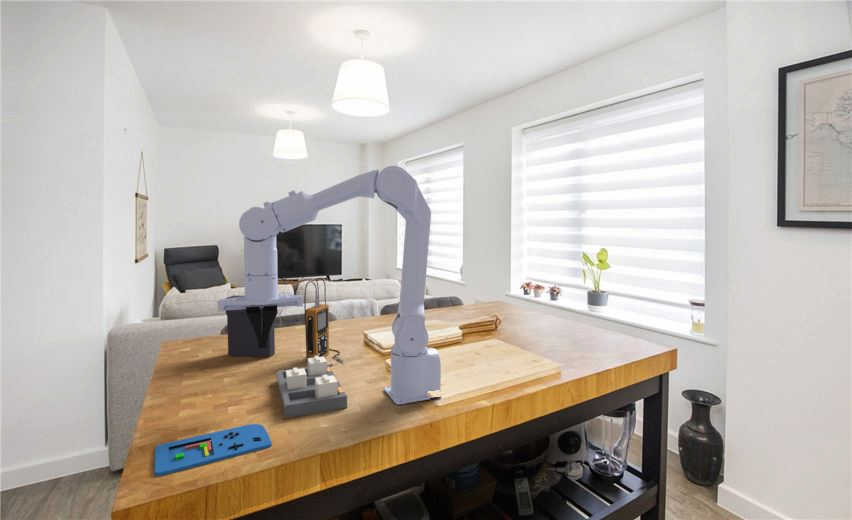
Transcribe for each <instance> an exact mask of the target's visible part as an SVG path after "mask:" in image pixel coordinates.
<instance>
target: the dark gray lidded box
mask: <svg viewBox="0 0 852 520" xmlns="http://www.w3.org/2000/svg"><path fill="white" fill-rule="evenodd" d="M237 297H245V295H231V296H227V297H225V298H224V299H228V298H237ZM268 305H269V304H268ZM251 306H252V305H251ZM260 309H261V334H262V332H263V316H262V308H260ZM225 314H226V324H227V351H228V352H227V354H228V356H229V357H246V358H247V357H248V358H266V357H269V358H270V357H272V356H274V355H275V354H276V351H275V350H276V346H275V345H276V344H275V340H276V339H275V337H276V336H275V335H276V334H275V321H274V322H273V324H272V326H271V329H270V332H269V336H268V340H267V347H266V348H258V341H257V337H256V334H255V331H254V329H253V326H252V324H251V322H250V320H249V319H248V317H247V315H246V309H240V310H225Z"/></svg>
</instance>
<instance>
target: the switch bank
mask: <svg viewBox="0 0 852 520" xmlns="http://www.w3.org/2000/svg"><path fill="white" fill-rule="evenodd" d="M297 368H298V369H303V368H304V369H305V372H306V374H307V387H304V388H297V389H290V390H287V387H286V371H287V370H293V368H291V369H290V368H289V369H284V370H283V369H282V370H277V371H276V381H278V382H277V385H278V386H279V387H278V391H279V390H280V391H279V396H280V395H281V396H280V400H281V399H282V401H281V405H282V404H283V405H282V409H284V410H283V415H284V414H285V415H284V418H285V419H288V418H293V417H292V416H294V417H299V415H300V416H306V415H311V414H316V413H323V412H330V411H335V410H336V411H337V410H341V409H346V408H347V409H348V395H347V394H346V392H345V390H344V389H343V387H342V385H341V383H340V382H339V380H338V378H337V377H336V375H335V374H334V372H333V370H332V368H331V367H330V366H329V365H327V373H325V374H318V375H310V376H308V366H307V367H297ZM326 374H327V376H332V375H334V377H335V378H336V380H337V382H338V395H336V396H329V397H323V398H316V397H315V378H317V377H323V375H326Z"/></svg>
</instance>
